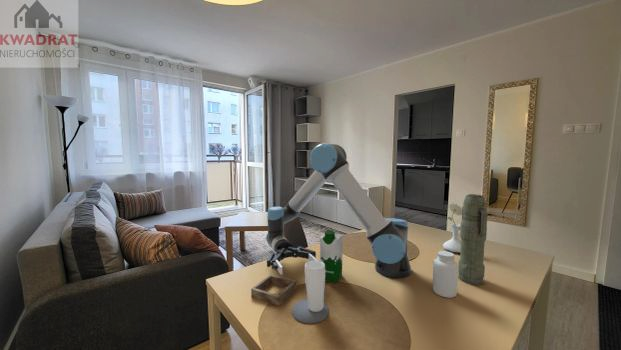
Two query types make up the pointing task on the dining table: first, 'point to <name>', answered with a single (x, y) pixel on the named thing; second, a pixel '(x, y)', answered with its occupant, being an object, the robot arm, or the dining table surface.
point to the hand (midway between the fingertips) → (299, 267)
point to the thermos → (473, 239)
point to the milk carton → (331, 255)
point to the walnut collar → (270, 297)
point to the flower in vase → (454, 231)
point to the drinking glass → (315, 284)
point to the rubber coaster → (308, 313)
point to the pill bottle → (445, 274)
